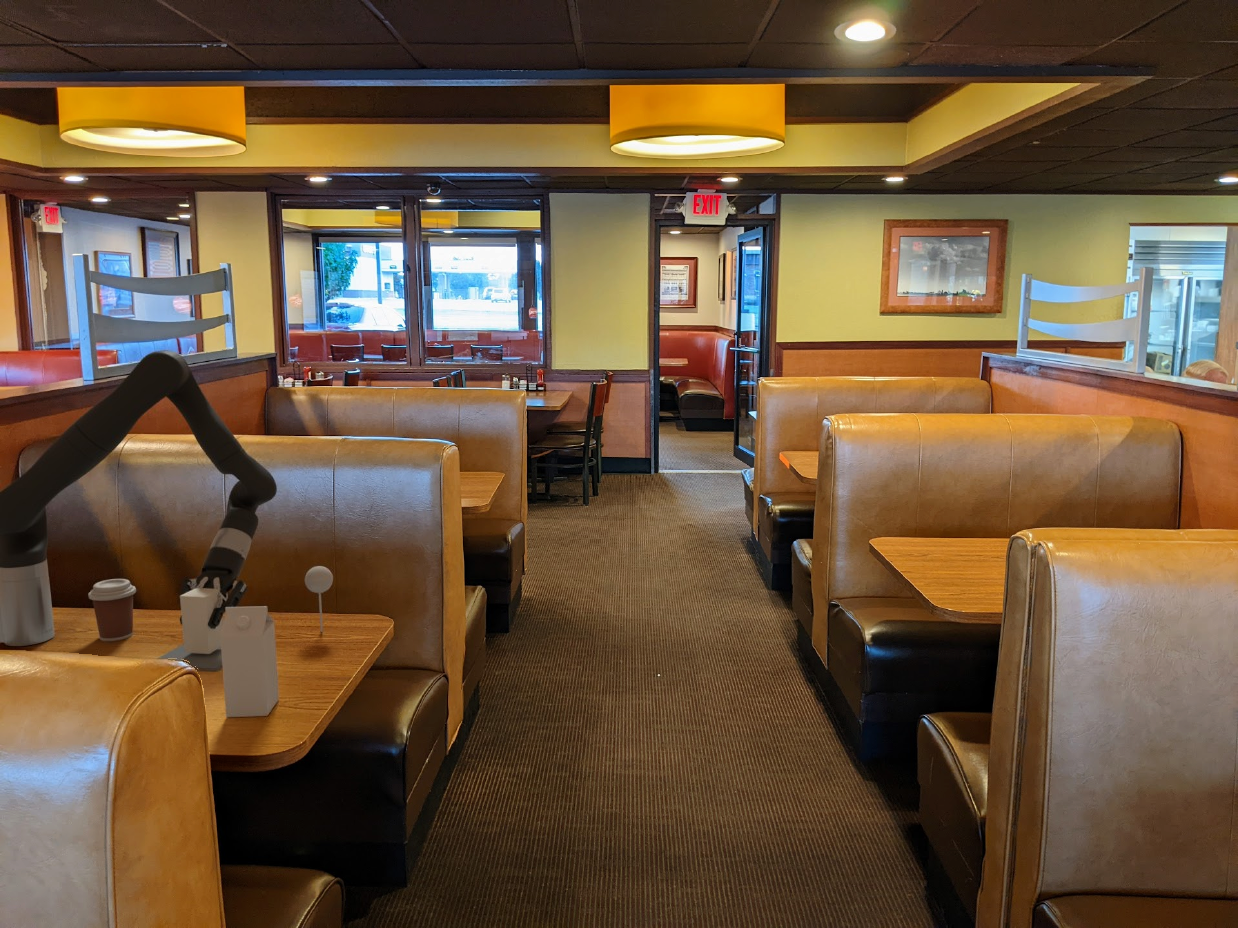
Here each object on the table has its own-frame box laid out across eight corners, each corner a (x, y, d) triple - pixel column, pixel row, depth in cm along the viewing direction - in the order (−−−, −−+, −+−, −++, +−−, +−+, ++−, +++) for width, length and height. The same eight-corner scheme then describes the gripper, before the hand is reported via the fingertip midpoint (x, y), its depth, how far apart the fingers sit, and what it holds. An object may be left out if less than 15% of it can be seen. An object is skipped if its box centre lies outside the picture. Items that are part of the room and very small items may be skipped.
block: (184, 652, 185) (179, 595, 183) (201, 642, 191) (196, 587, 189) (209, 653, 184) (204, 597, 182) (225, 644, 190) (220, 589, 188)
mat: (148, 666, 181) (148, 663, 181) (194, 640, 196) (194, 637, 196) (217, 671, 179) (216, 668, 179) (258, 644, 194) (258, 641, 194)
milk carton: (239, 700, 166) (232, 601, 162) (279, 699, 166) (273, 600, 163) (226, 718, 159) (218, 613, 155) (267, 716, 159) (261, 612, 156)
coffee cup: (147, 628, 203) (143, 577, 201) (127, 643, 194) (122, 589, 192) (106, 628, 203) (101, 577, 201) (83, 643, 194) (78, 589, 192)
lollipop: (326, 637, 198) (323, 571, 195) (302, 635, 199) (298, 569, 197) (340, 628, 204) (337, 563, 201) (317, 626, 205) (313, 561, 203)
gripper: (188, 543, 192) (156, 616, 183) (250, 546, 190) (221, 620, 181) (205, 561, 199) (174, 632, 189) (266, 564, 196) (238, 636, 187)
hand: (197, 625), depth 185 cm, fingers closed on block, 5 cm apart
